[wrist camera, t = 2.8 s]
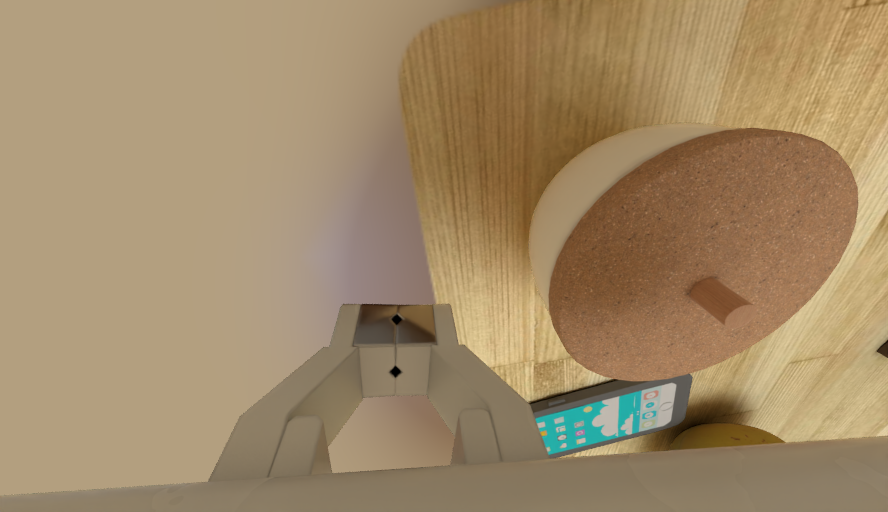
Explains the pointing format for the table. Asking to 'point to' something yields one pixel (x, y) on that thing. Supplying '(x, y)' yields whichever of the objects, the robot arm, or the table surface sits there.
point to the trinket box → (686, 243)
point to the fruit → (722, 436)
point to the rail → (884, 350)
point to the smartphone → (610, 413)
